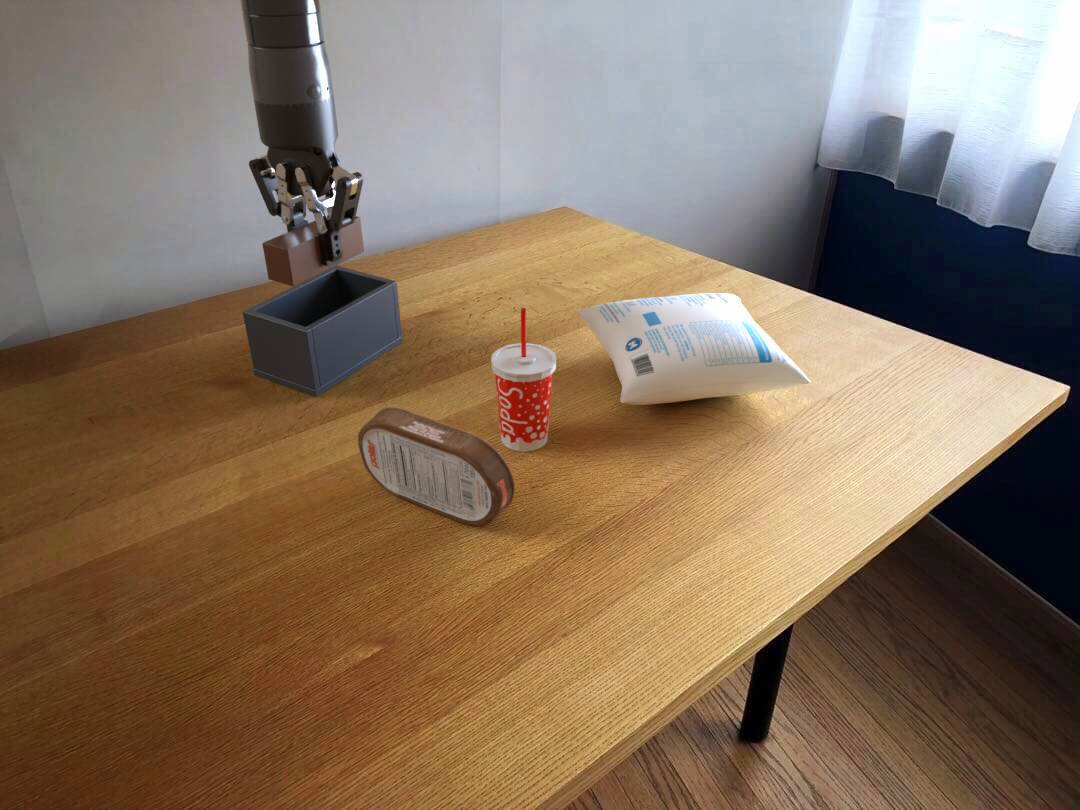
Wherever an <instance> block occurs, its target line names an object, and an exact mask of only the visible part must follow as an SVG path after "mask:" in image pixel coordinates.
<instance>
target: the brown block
mask: <svg viewBox="0 0 1080 810" xmlns="http://www.w3.org/2000/svg"><path fill="white" fill-rule="evenodd" d="M326 218H327V219H328V218H329V215H328V214H327V215H326ZM318 233H319V230H318V228H317V224H316V221H315V220H313V221H311V222H308V224H306V225H304V226H301V227H299V228H297V229H294V230H292V231H289V232H288V231H287V232H284V233H283V234H280V235H278V236H276V237H273V238H271V239H268V240H266V241H263V242H262V249H263V256H264V262H265V267H266V270H267V271H266V273H267V279H268V280H270V281H273V282H275V283H276V282H277V283H280V284H283V285H287V286H290V287H293V286H295V285H297V284H299V283H302V282H304V281H306V280H308V279H310V278H312V277H314V276H316V275H318V274H320V273H322V272H324V271H326V270H328V269H330V268H332V267H334V266H339V265H340V264H342V263H344V262H346V261H348V260H350V259H352V258H355V257H356V256H358V255H361V254H362V253H364V252H365V249H364V248H365V247H364V237H363V230H362V221H361V216H357V215H356V217H355V222H354V223H353V224H351V225H348V226H346V227H344V228H342V229H340V236H341V245H342V252H343V255H342V258H341V260H340V261H339V262H338V263H336V264H334V265H332V266H326V265H323V264H322V258H321V251H320V244H319V237H318Z"/></svg>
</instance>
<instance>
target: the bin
mask: <svg viewBox="0 0 1080 810" xmlns="http://www.w3.org/2000/svg"><path fill="white" fill-rule="evenodd" d="M398 289H399V288H398V281H397V280H393V279H389V278H385V277H381V276H378V275H373V274H369V273H367V272H364V271H363V272H362V271H359V270H355V269H351V268H348V267H344V266H340V265H336V266H334V267H332V268H330V269H328V270H326V271H324V272H322V273H320V274H318V275H316V276H314V277H312V278H310V279H308V280H306V281H304V282H302V283H299V284H297V285H295V286H290V288H287V289H285V290H283V291H281V292H279V293H277V294H275V295H273V296H271V297H269V298H267V299H265V300H263V301H260V302H259V303H256V304H255V305H252V306H251V307H248V308H247V309H245V310H243V311H242V316H243V322H244V327H245V332H246V336H247V337H246V338H247V342H248V347H249V352H250V358H251V362H252V363H251V364H252V367H253V373H254V376H256V377H259V378H262V379H264V380H266V381H269V382H273V383H276V384H278V385H280V386H284V387H286V388H289V389H291V390H295V391H297V392H301V393H304V394H306V395H308V396H312V397H314V398H317V397H319V396H320V395H322V394H324V393H326V392H327V391H328V390H330V389H331V388H333V387H334V386H336V385H338V384H339V383H341V382H343V381H344V380H345V379H347V378H349V377H350V376H352V375H353V374H355V373H357V372H358V371H359V370H361V369H363V368H364V367H366V366H368V365H369V364H371V363H372V362H374V361H375V360H378V358H380V357H382V356H384V355H385V354H386V353H388V352H390V351H392V350H393V349H394V348H396V347H397V346H399V345H401V344H402V343H403V333H402V323H401V313H400V312H401V311H400V302H399V301H400V300H399V290H398Z"/></svg>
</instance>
